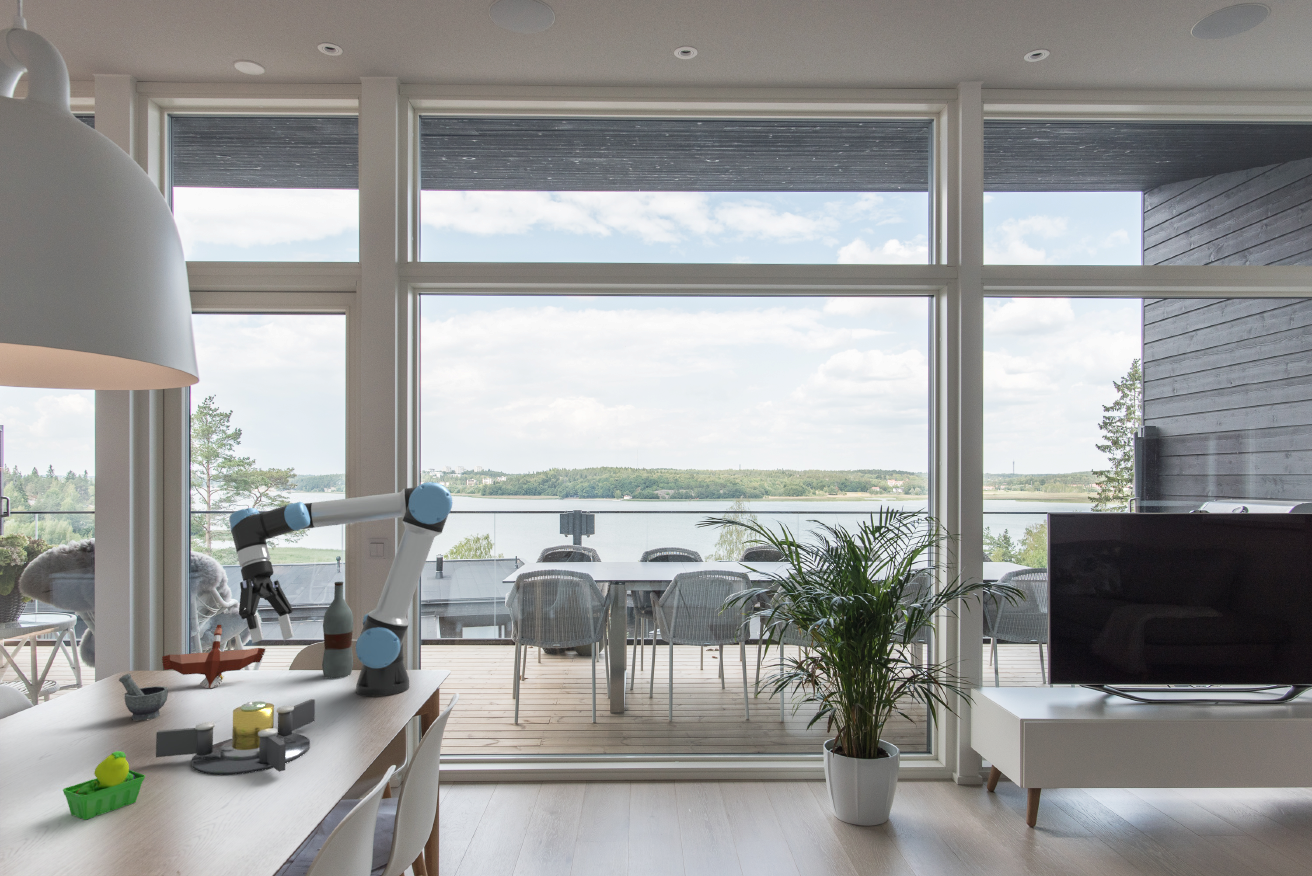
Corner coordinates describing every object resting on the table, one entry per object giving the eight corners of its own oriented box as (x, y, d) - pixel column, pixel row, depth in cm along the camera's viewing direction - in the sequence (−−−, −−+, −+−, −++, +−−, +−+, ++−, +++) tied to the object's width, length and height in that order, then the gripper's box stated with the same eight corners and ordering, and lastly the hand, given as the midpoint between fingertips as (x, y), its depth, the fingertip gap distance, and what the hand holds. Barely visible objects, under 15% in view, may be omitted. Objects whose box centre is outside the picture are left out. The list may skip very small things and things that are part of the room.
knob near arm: (285, 737, 181) (286, 711, 181) (272, 736, 182) (273, 709, 182) (318, 722, 192) (319, 697, 192) (306, 721, 193) (306, 696, 193)
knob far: (216, 749, 173) (217, 721, 174) (211, 755, 170) (211, 726, 170) (160, 754, 170) (160, 726, 171) (153, 760, 167) (154, 731, 167)
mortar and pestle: (171, 709, 208) (172, 666, 208) (163, 719, 199) (164, 674, 199) (122, 715, 203) (123, 670, 204) (112, 725, 195) (113, 678, 195)
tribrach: (318, 732, 188) (318, 683, 189) (298, 768, 165) (299, 712, 166) (211, 741, 182) (212, 691, 183) (175, 780, 159) (176, 722, 159)
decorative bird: (270, 659, 250) (268, 620, 246) (262, 694, 234) (260, 654, 229) (171, 667, 241) (168, 627, 236) (156, 704, 224) (151, 662, 220)
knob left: (255, 760, 166) (255, 731, 167) (273, 755, 169) (273, 727, 169) (272, 774, 158) (273, 744, 159) (291, 769, 161) (292, 739, 161)
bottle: (350, 670, 249) (351, 579, 251) (355, 676, 242) (356, 582, 243) (319, 674, 245) (321, 581, 246) (324, 680, 237) (325, 584, 238)
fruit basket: (125, 793, 152) (126, 737, 153) (150, 802, 148) (151, 744, 149) (59, 816, 142) (61, 755, 143) (84, 826, 138) (86, 763, 139)
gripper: (270, 571, 216) (288, 642, 211) (211, 567, 192) (230, 647, 187) (294, 561, 216) (312, 632, 211) (238, 556, 192) (257, 636, 187)
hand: (274, 639), depth 199 cm, fingers open, 13 cm apart
